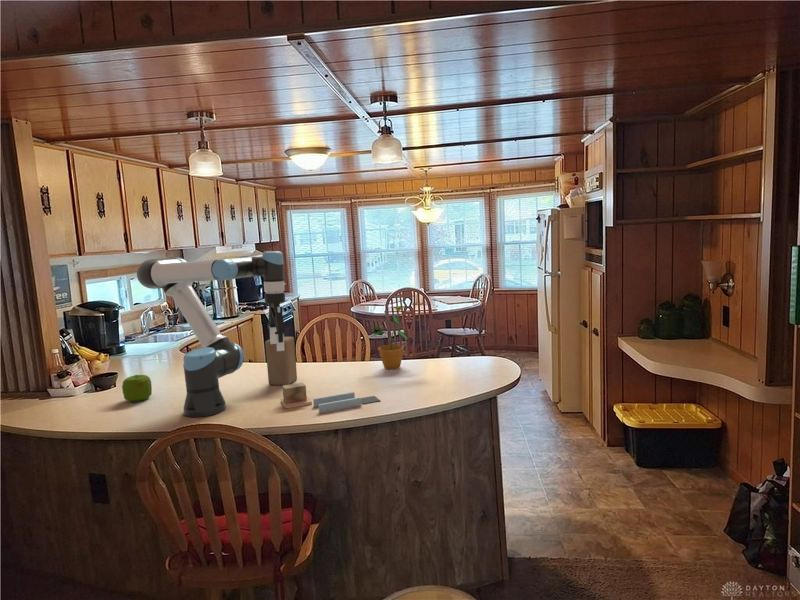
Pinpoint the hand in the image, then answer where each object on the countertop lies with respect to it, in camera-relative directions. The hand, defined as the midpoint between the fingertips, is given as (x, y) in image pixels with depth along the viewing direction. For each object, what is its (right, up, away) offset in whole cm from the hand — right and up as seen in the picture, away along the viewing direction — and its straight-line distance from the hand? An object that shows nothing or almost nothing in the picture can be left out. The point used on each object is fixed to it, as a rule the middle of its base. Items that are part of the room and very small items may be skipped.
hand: (277, 347), depth 203 cm
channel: (+24, -22, -4) cm, 32 cm away
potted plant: (+43, -14, +49) cm, 67 cm away
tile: (+7, -22, +2) cm, 23 cm away
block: (+6, -21, +2) cm, 22 cm away
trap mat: (+35, -21, 0) cm, 41 cm away
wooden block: (-5, -19, +34) cm, 39 cm away
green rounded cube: (-63, -24, +19) cm, 69 cm away
